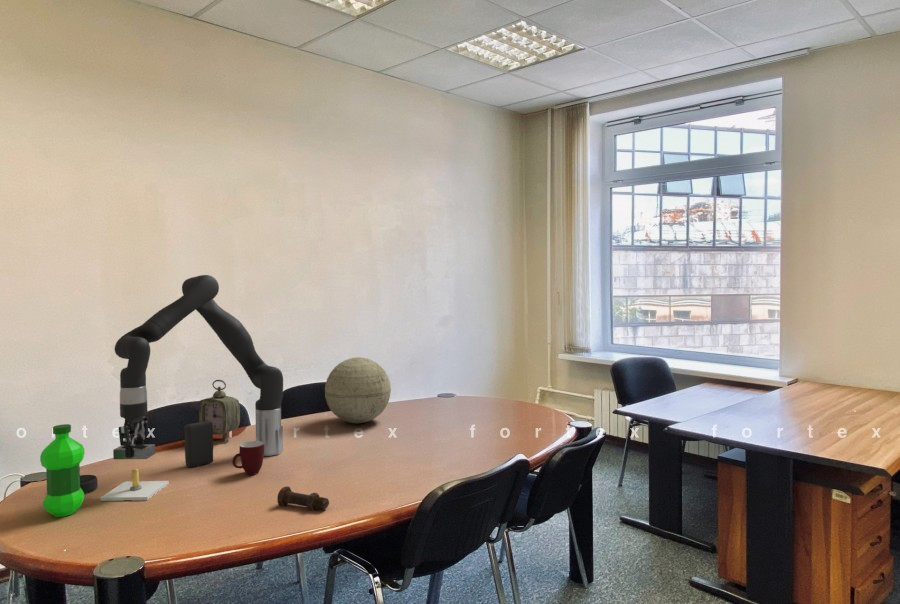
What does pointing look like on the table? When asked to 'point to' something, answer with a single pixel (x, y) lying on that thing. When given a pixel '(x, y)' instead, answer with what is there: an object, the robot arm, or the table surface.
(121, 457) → the steel link
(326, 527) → the table surface
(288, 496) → the bolt
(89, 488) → the smart speaker
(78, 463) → the plastic bottle
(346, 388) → the concrete ball
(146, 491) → the keeper post
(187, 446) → the dark grey upright slab
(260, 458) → the mug
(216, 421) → the tabletop clock
